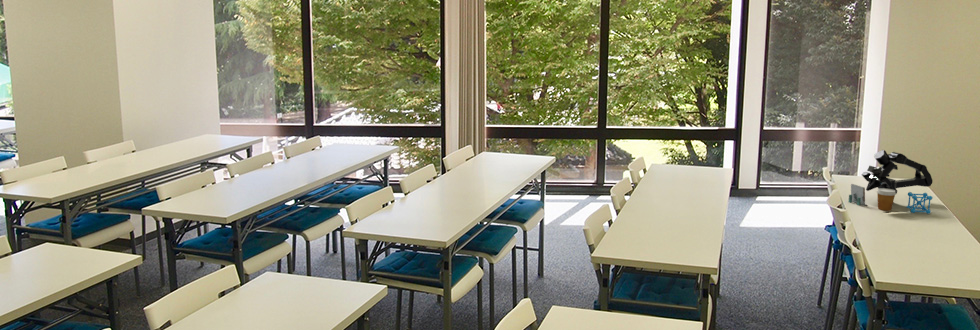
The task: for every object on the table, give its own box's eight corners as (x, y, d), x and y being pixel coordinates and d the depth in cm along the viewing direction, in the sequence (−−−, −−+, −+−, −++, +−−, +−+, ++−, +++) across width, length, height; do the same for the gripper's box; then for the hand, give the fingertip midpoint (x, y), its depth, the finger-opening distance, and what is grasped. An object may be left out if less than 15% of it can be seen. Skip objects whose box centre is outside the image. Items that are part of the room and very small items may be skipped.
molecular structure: (931, 214, 420) (933, 196, 418) (911, 213, 422) (913, 195, 420) (925, 210, 430) (926, 192, 428) (905, 209, 432) (907, 191, 430)
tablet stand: (860, 202, 448) (861, 192, 447) (876, 207, 435) (877, 197, 434) (844, 203, 445) (845, 193, 444) (861, 208, 432) (861, 198, 431)
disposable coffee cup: (889, 209, 430) (892, 188, 428) (897, 213, 421) (899, 192, 419) (872, 209, 431) (874, 187, 429) (878, 213, 422) (880, 191, 420)
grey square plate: (852, 201, 444) (852, 183, 442) (865, 205, 435) (864, 187, 433) (851, 202, 444) (850, 184, 442) (863, 206, 435) (863, 187, 432)
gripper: (865, 158, 446) (847, 177, 446) (889, 163, 428) (870, 184, 428) (876, 170, 450) (858, 190, 449) (900, 176, 432) (881, 197, 431)
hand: (866, 190), depth 439 cm, fingers closed
